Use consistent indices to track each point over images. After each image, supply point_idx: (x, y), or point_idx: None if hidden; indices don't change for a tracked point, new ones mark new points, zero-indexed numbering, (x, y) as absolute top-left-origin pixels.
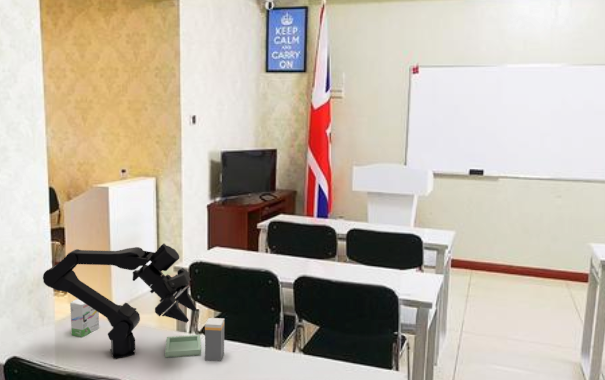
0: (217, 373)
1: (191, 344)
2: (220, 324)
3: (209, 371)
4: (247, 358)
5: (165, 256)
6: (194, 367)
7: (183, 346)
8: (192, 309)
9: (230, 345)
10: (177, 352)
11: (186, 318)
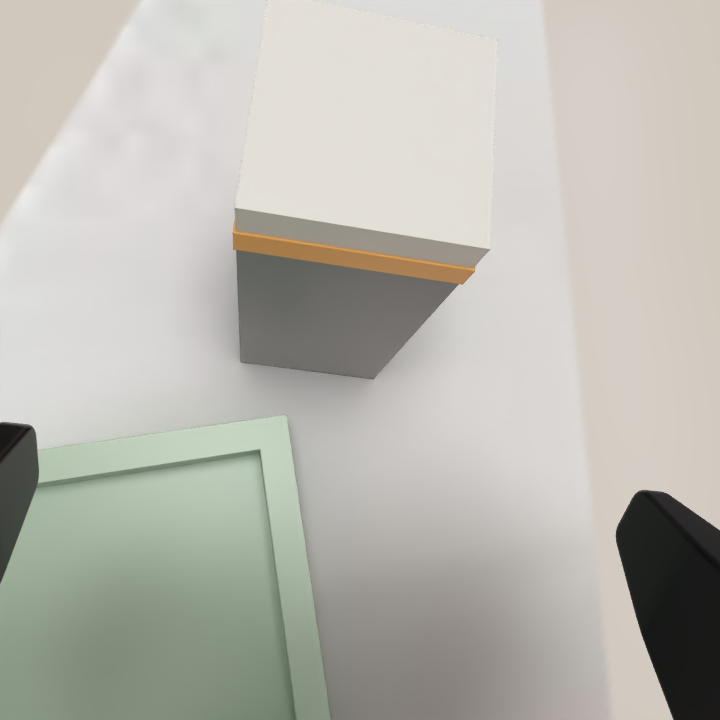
0: (555, 274)
1: (74, 542)
2: (482, 46)
3: (533, 330)
4: None
5: None
6: (484, 449)
7: (116, 619)
8: (19, 514)
9: (97, 190)
10: (317, 643)
11: (714, 530)
